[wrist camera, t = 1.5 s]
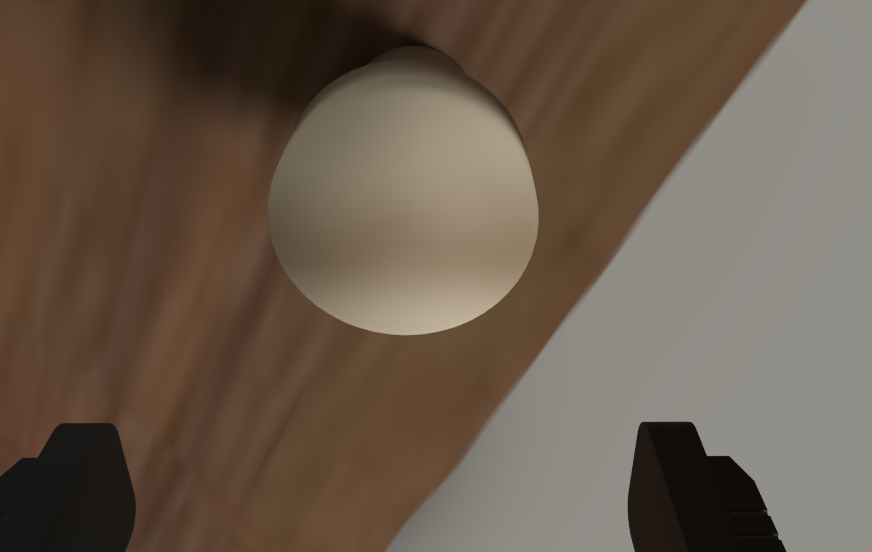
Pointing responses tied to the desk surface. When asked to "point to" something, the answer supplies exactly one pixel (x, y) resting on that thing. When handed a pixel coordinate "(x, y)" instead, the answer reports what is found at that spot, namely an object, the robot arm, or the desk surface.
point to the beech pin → (404, 196)
